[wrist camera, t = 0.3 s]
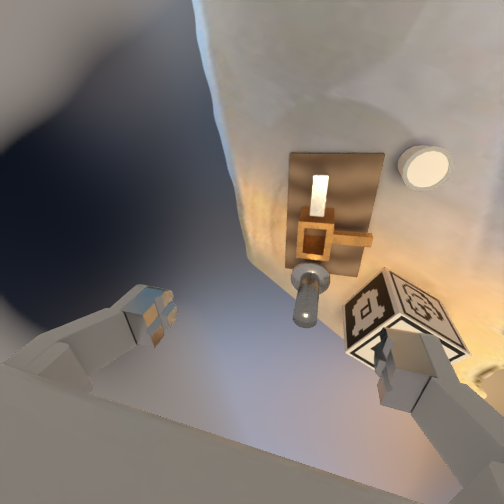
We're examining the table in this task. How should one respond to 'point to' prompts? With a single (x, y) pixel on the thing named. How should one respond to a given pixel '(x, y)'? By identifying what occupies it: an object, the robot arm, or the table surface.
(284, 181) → the table surface
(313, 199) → the wedge pin
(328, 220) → the ringlock node
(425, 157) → the white short cylinder
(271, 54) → the table surface
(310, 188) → the base board
